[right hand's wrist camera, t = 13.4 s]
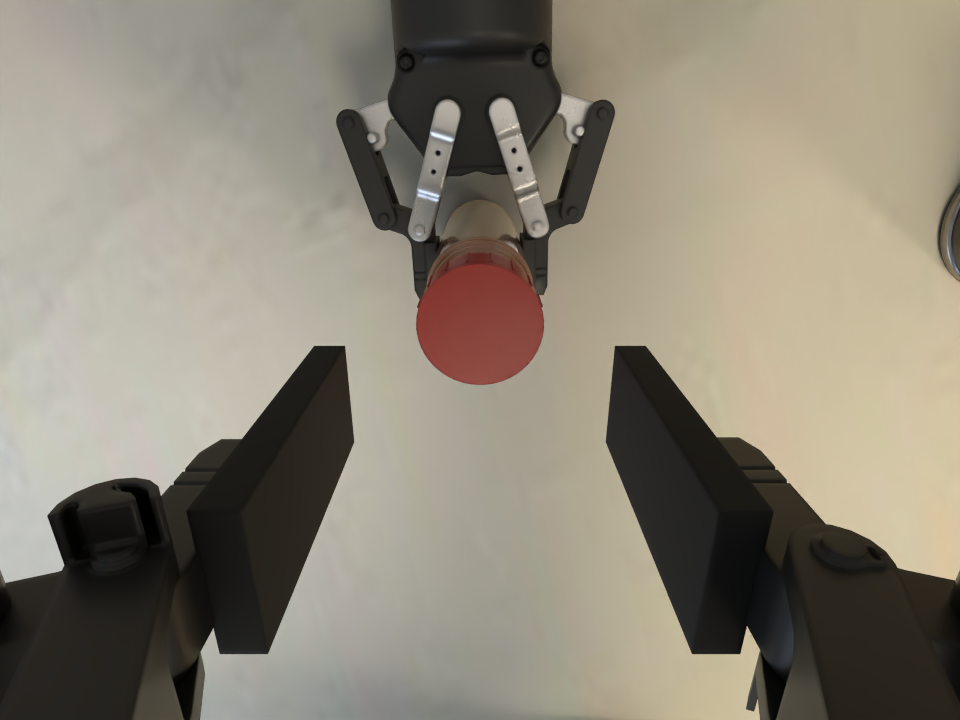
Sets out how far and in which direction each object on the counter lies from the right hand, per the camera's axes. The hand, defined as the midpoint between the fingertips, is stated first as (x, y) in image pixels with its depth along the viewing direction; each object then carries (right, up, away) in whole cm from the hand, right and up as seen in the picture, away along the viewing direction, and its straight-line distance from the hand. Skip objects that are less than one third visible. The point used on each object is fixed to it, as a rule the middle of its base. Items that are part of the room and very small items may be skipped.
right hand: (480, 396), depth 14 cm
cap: (0, +2, +5) cm, 6 cm away
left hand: (0, +4, +17) cm, 18 cm away
